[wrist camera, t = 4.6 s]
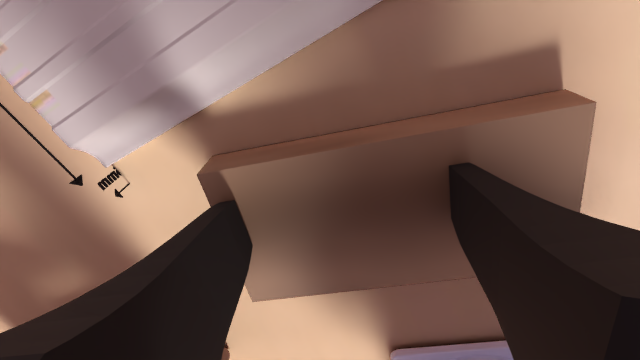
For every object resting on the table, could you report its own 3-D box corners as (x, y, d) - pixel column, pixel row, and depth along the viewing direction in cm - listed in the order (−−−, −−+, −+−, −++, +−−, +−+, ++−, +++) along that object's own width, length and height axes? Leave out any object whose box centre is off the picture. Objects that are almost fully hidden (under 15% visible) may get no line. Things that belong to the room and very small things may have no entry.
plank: (549, 240, 13) (571, 266, 12) (260, 275, 15) (252, 301, 14) (564, 89, 11) (596, 102, 9) (212, 156, 13) (196, 174, 11)
